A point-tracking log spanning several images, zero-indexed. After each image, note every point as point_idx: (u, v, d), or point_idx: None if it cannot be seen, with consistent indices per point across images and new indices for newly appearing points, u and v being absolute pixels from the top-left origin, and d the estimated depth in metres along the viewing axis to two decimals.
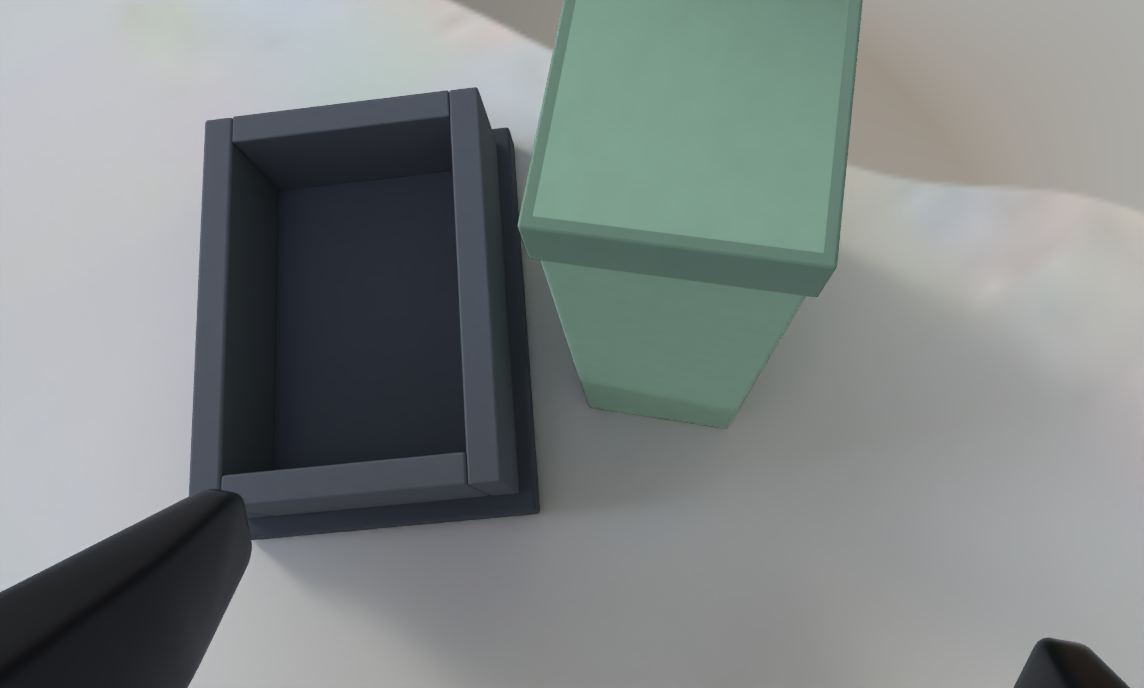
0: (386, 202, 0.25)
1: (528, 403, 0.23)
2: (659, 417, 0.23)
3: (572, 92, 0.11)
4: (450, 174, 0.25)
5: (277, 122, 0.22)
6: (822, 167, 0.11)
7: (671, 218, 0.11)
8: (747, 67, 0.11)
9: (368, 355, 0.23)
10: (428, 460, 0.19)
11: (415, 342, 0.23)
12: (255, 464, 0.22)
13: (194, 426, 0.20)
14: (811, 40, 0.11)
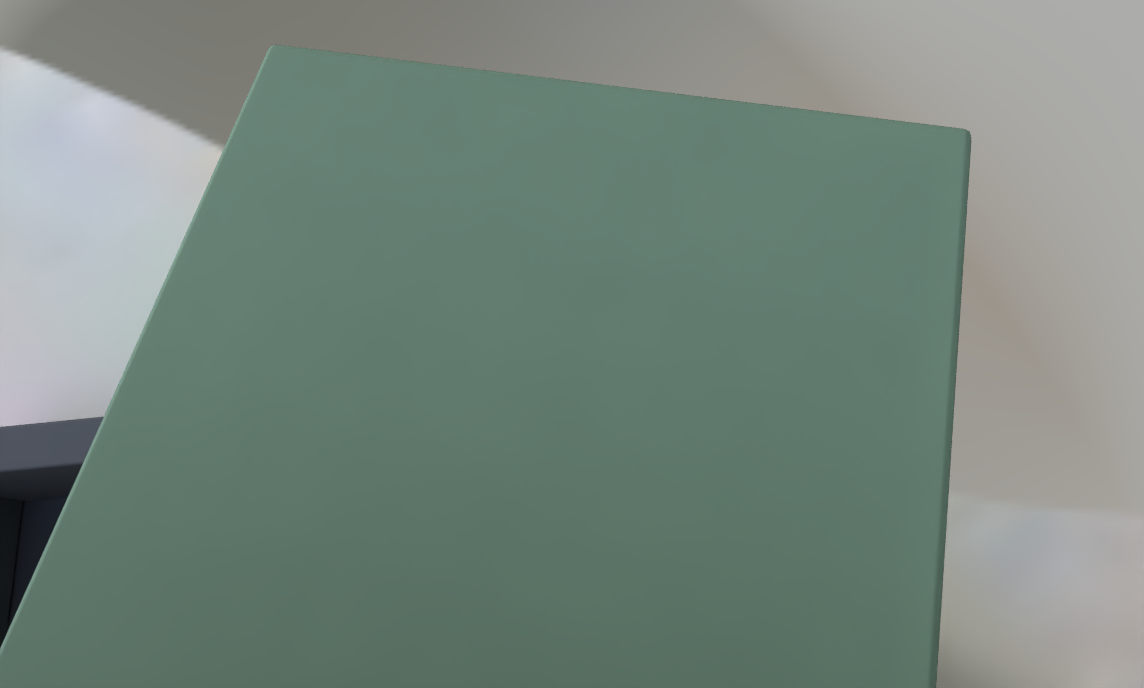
0: None
1: None
2: None
3: None
4: None
5: None
6: None
7: None
8: None
9: None
10: None
11: None
12: None
13: None
14: None
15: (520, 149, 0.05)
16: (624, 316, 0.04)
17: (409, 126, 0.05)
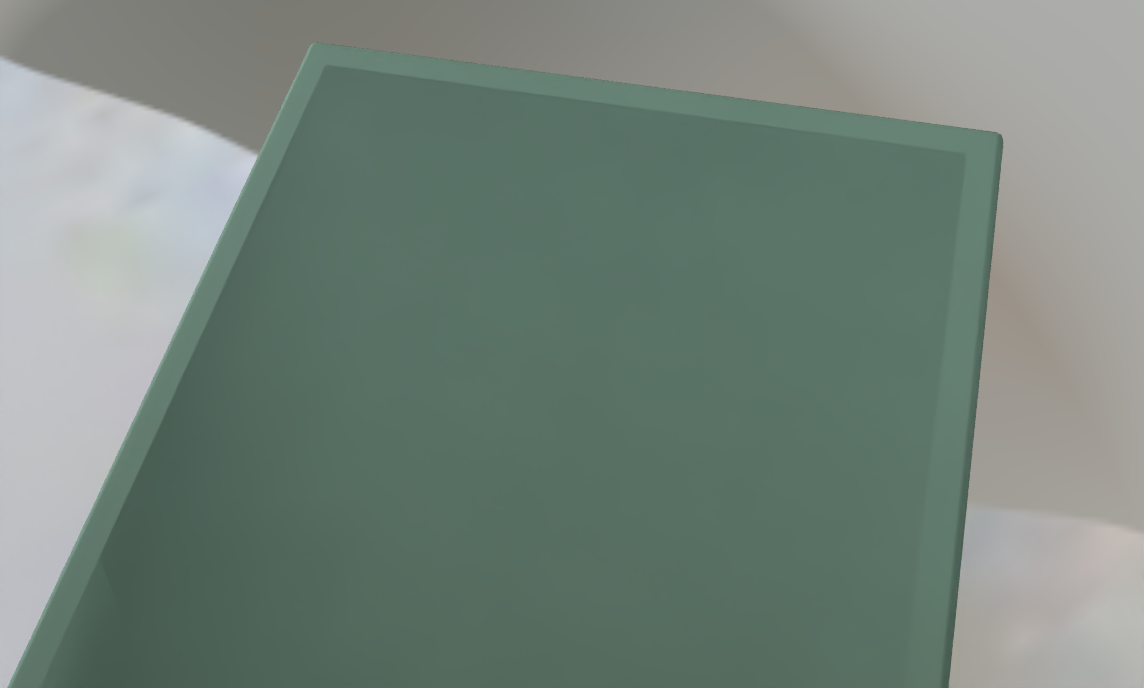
0: None
1: None
2: None
3: None
4: None
5: None
6: None
7: None
8: None
9: None
10: None
11: None
12: None
13: None
14: None
15: (551, 147, 0.05)
16: (649, 311, 0.04)
17: (441, 122, 0.05)
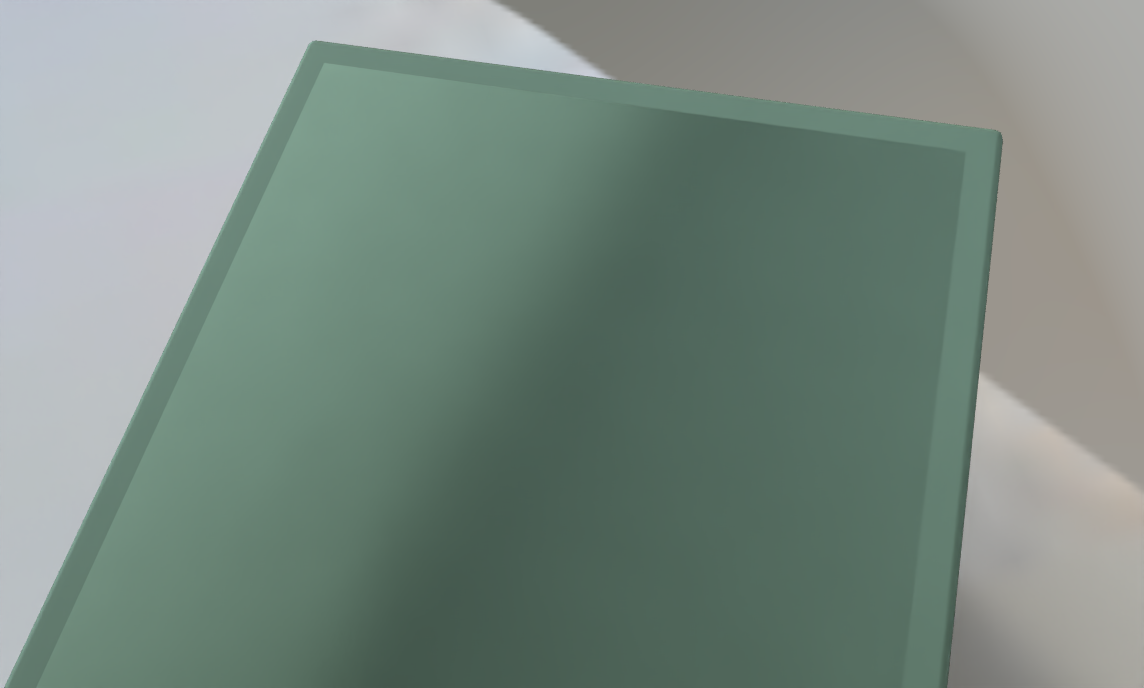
0: None
1: None
2: None
3: None
4: None
5: None
6: None
7: None
8: None
9: None
10: None
11: None
12: None
13: None
14: None
15: (547, 145, 0.05)
16: (647, 311, 0.04)
17: (439, 120, 0.05)
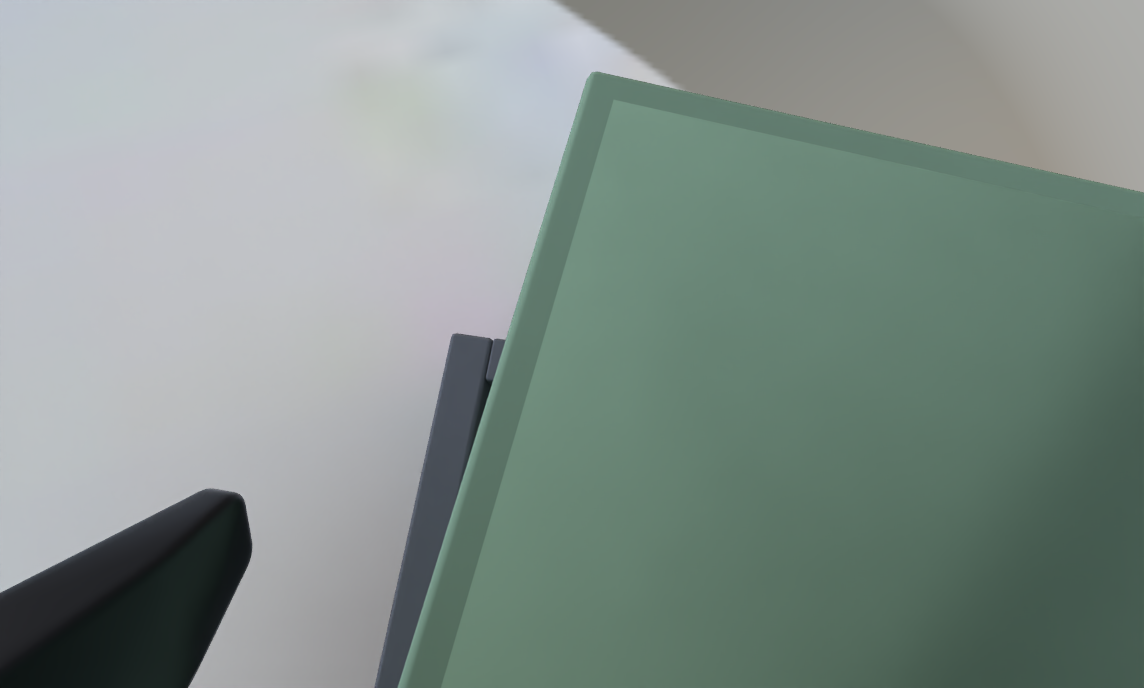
0: None
1: None
2: None
3: None
4: None
5: None
6: None
7: None
8: None
9: None
10: None
11: None
12: None
13: None
14: None
15: (888, 219, 0.04)
16: (1029, 414, 0.04)
17: (762, 179, 0.04)
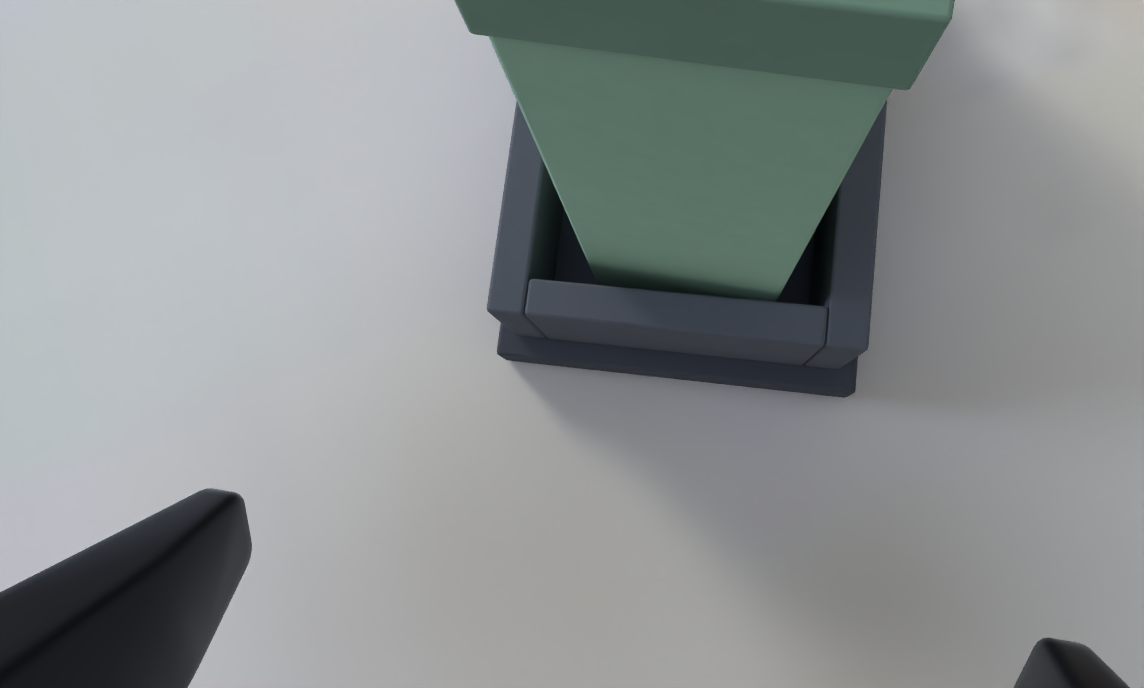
0: None
1: None
2: None
3: None
4: None
5: None
6: None
7: None
8: None
9: None
10: (781, 307, 0.16)
11: None
12: (546, 275, 0.19)
13: (504, 215, 0.17)
14: None
15: None
16: None
17: None
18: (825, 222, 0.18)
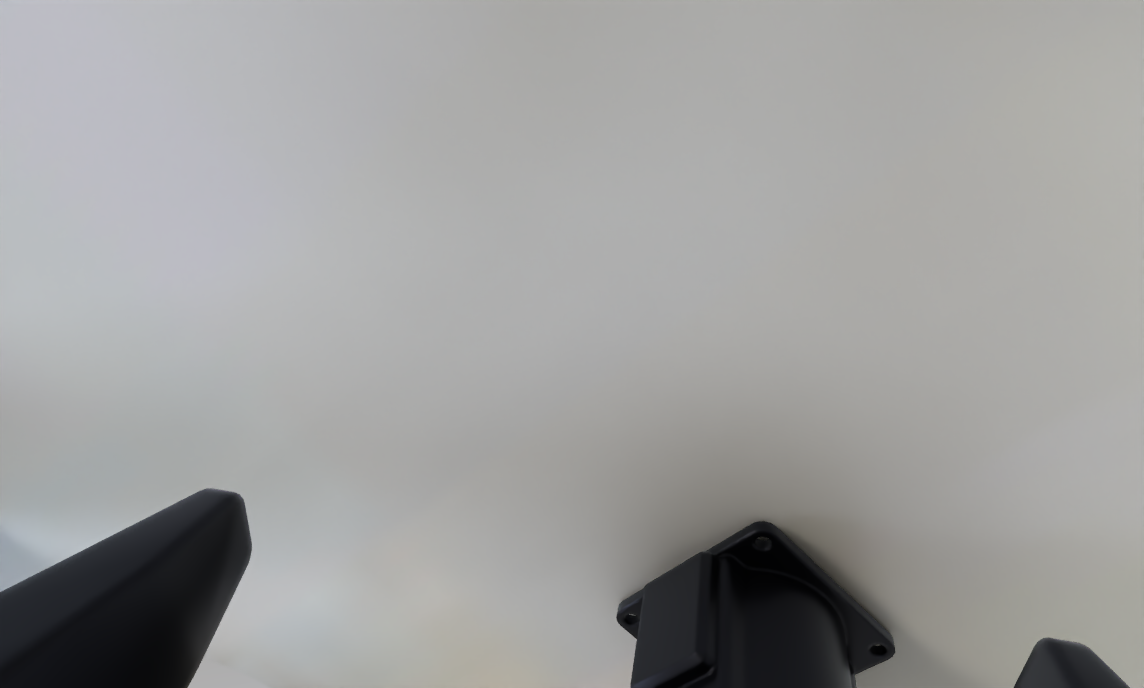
0: None
1: None
2: None
3: None
4: None
5: None
6: None
7: None
8: None
9: None
10: None
11: None
12: None
13: None
14: None
15: None
16: None
17: None
18: None
